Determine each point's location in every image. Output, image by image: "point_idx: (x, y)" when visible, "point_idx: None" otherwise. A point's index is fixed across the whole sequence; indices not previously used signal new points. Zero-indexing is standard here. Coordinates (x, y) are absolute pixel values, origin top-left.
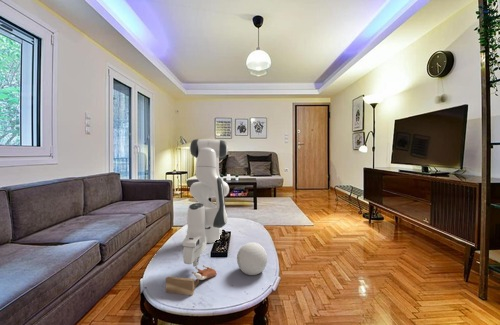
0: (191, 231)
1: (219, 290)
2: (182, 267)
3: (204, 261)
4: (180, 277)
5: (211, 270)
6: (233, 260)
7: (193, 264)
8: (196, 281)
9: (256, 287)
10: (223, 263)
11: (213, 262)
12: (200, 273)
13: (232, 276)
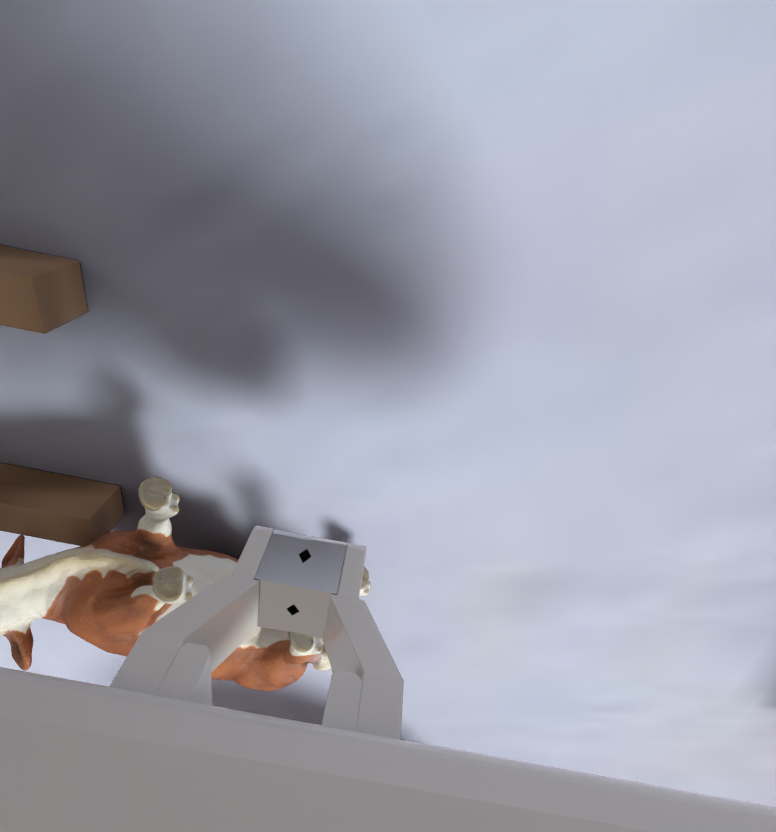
0: None
1: (78, 646)
2: (607, 178)
3: (758, 512)
4: (39, 312)
5: (234, 680)
6: (659, 740)
7: (244, 551)
8: (37, 529)
9: None
10: (606, 679)
11: (672, 605)
12: (65, 619)
13: (317, 714)
